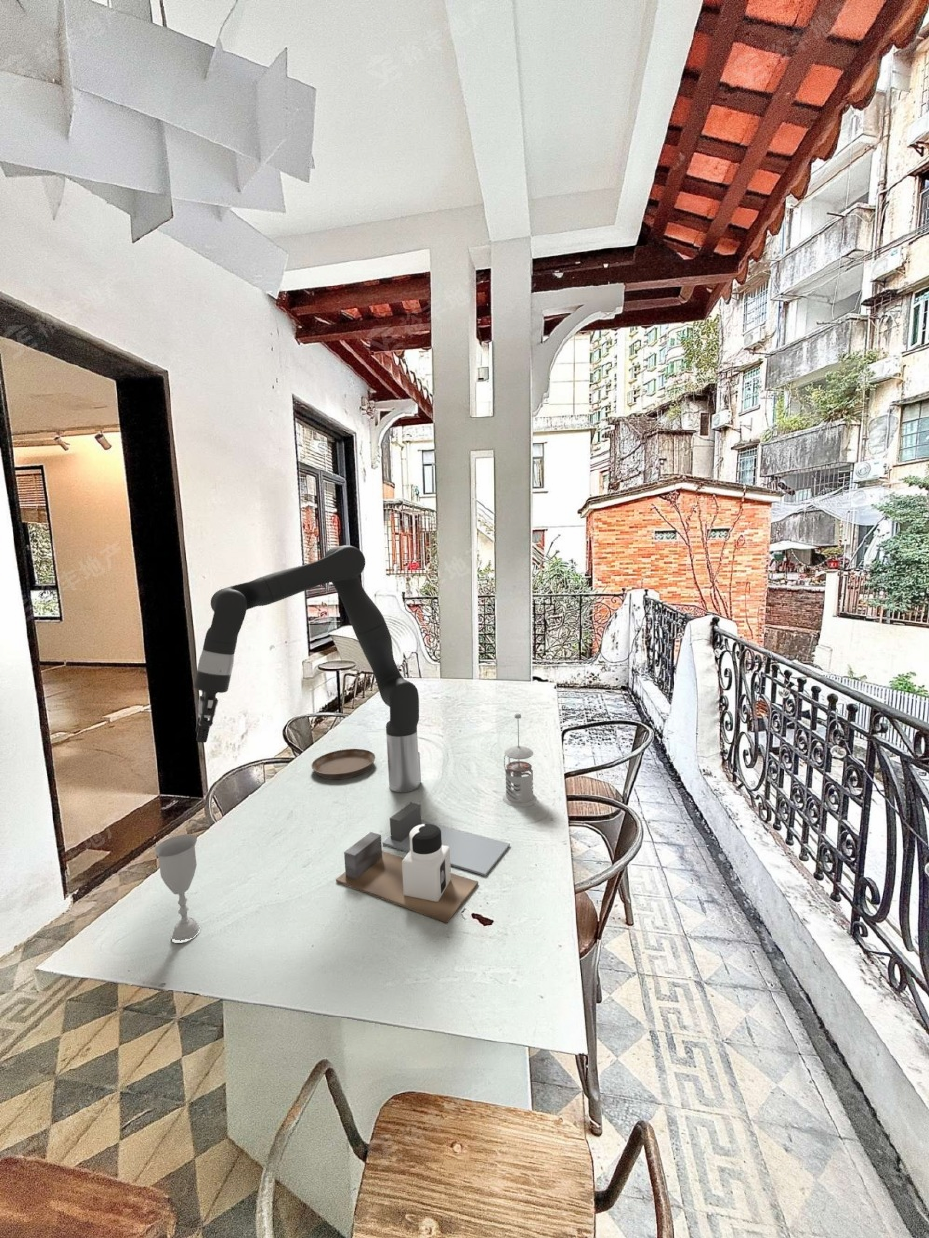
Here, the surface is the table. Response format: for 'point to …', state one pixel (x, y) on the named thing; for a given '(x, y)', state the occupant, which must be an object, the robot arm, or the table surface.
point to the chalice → (179, 877)
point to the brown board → (397, 880)
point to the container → (426, 864)
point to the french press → (519, 776)
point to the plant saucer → (343, 763)
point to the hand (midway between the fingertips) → (200, 737)
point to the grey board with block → (448, 841)
